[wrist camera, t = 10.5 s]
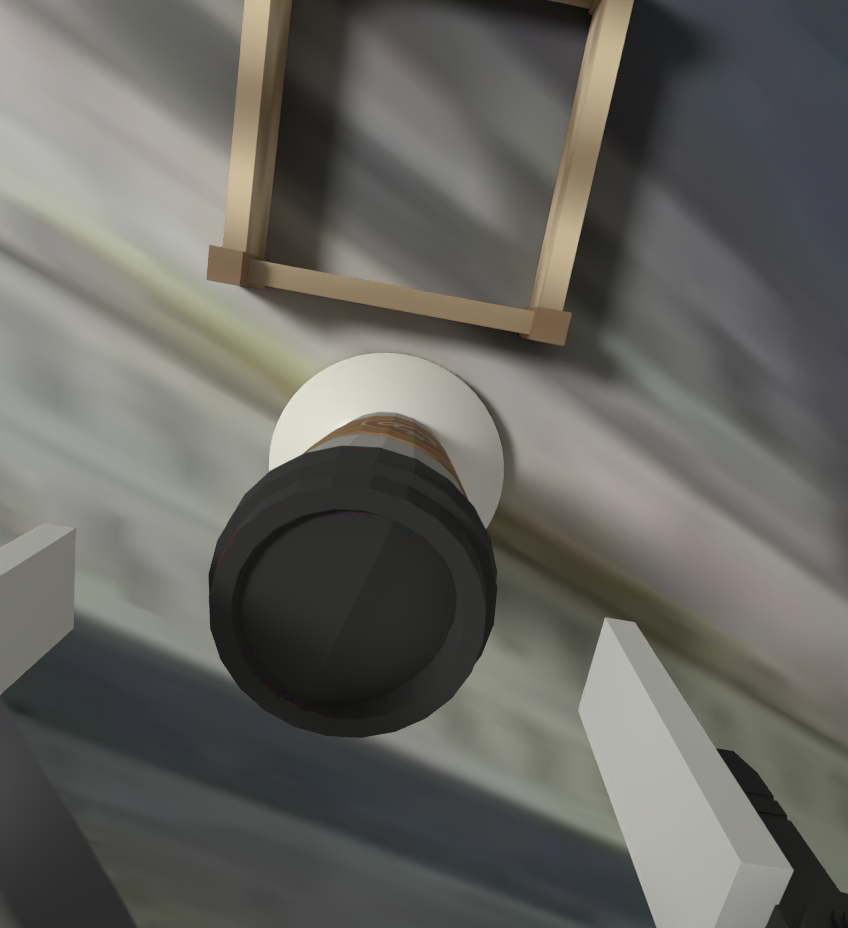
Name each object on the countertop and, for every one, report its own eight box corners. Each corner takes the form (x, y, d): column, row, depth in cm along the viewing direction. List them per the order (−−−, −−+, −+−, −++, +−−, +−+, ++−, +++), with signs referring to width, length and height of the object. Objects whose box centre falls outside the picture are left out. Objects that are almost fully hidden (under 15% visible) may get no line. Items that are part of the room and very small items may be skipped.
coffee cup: (496, 433, 29) (564, 549, 15) (425, 572, 31) (422, 796, 17) (344, 361, 29) (257, 408, 14) (280, 508, 30) (144, 684, 16)
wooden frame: (273, -90, 25) (243, -165, 21) (627, -17, 25) (663, -78, 21) (237, 284, 29) (206, 280, 25) (546, 341, 29) (564, 346, 25)
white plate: (287, 332, 29) (283, 332, 28) (524, 375, 29) (527, 377, 29) (261, 554, 32) (257, 560, 31) (477, 590, 32) (478, 597, 32)
